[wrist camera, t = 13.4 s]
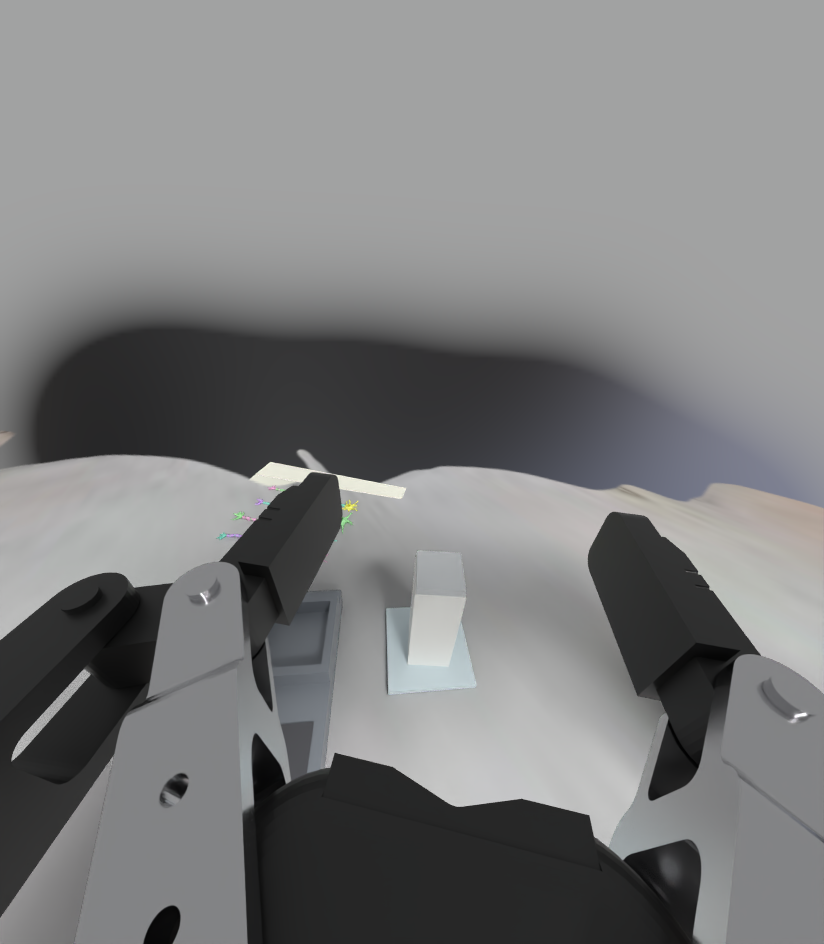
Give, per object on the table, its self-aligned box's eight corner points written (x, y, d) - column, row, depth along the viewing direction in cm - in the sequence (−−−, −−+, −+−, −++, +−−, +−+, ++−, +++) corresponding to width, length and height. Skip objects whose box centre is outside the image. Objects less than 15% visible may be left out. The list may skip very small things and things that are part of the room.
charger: (445, 626, 36) (462, 551, 29) (448, 666, 32) (468, 592, 25) (408, 624, 36) (416, 549, 29) (407, 664, 32) (415, 589, 25)
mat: (456, 607, 39) (457, 604, 38) (475, 687, 31) (476, 685, 31) (386, 611, 38) (386, 608, 37) (388, 694, 30) (388, 692, 30)
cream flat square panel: (406, 489, 60) (406, 483, 59) (342, 638, 35) (341, 632, 35) (270, 463, 65) (269, 457, 64) (132, 578, 40) (127, 571, 40)
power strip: (342, 602, 38) (339, 579, 36) (276, 1216, 13) (254, 1279, 11) (276, 605, 37) (269, 582, 35) (74, 1270, 12) (0, 1351, 10)
